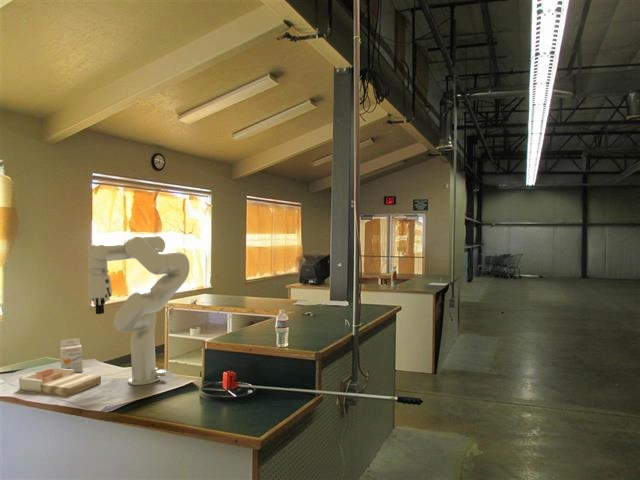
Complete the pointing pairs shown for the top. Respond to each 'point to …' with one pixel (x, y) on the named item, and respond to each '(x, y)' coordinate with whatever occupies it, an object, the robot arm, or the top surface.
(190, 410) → the top surface
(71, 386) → the board
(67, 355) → the ink box
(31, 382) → the tray
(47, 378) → the tile
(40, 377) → the tile
